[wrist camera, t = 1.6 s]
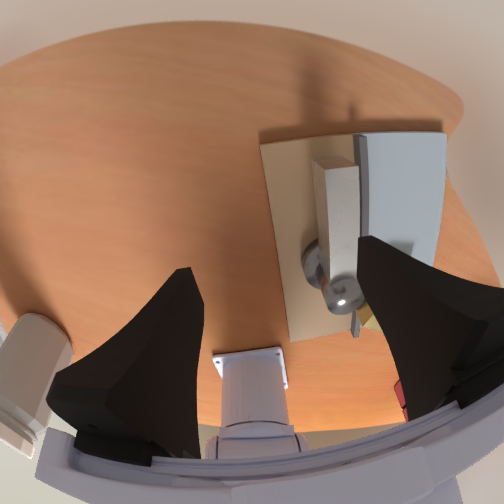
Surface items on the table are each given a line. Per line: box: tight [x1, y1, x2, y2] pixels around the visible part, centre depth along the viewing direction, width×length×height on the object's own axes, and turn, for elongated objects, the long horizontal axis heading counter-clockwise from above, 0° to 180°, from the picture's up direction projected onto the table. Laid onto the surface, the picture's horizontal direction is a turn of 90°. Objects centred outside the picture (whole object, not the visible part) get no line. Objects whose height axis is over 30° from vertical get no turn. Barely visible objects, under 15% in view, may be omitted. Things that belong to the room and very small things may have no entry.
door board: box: [259, 131, 447, 343], centre depth 22 cm, size 20×16×2 cm
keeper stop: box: [355, 297, 383, 332], centre depth 24 cm, size 3×2×3 cm, turn 65°
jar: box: [0, 313, 74, 459], centre depth 21 cm, size 10×10×18 cm
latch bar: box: [311, 155, 364, 315], centre depth 17 cm, size 10×3×4 cm, turn 10°
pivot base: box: [301, 238, 321, 290], centre depth 22 cm, size 4×4×2 cm
